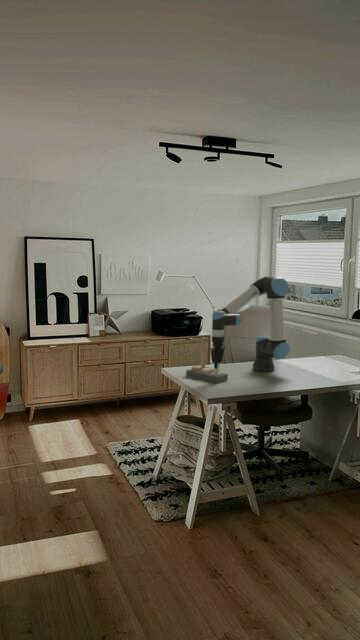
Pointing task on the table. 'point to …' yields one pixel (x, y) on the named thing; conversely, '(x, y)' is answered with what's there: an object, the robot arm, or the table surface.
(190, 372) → the keypad
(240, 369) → the table surface
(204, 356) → the headphone stand
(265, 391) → the table surface
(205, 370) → the sand key
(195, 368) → the terracotta key
